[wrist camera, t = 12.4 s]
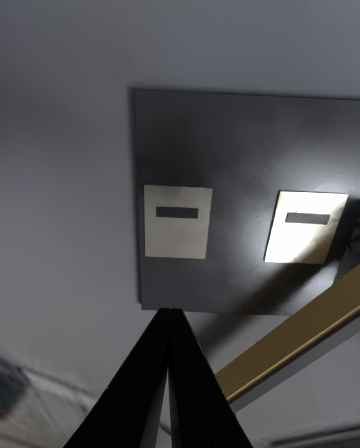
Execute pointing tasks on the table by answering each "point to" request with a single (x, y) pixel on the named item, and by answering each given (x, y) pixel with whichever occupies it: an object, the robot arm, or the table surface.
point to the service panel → (244, 199)
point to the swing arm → (294, 343)
